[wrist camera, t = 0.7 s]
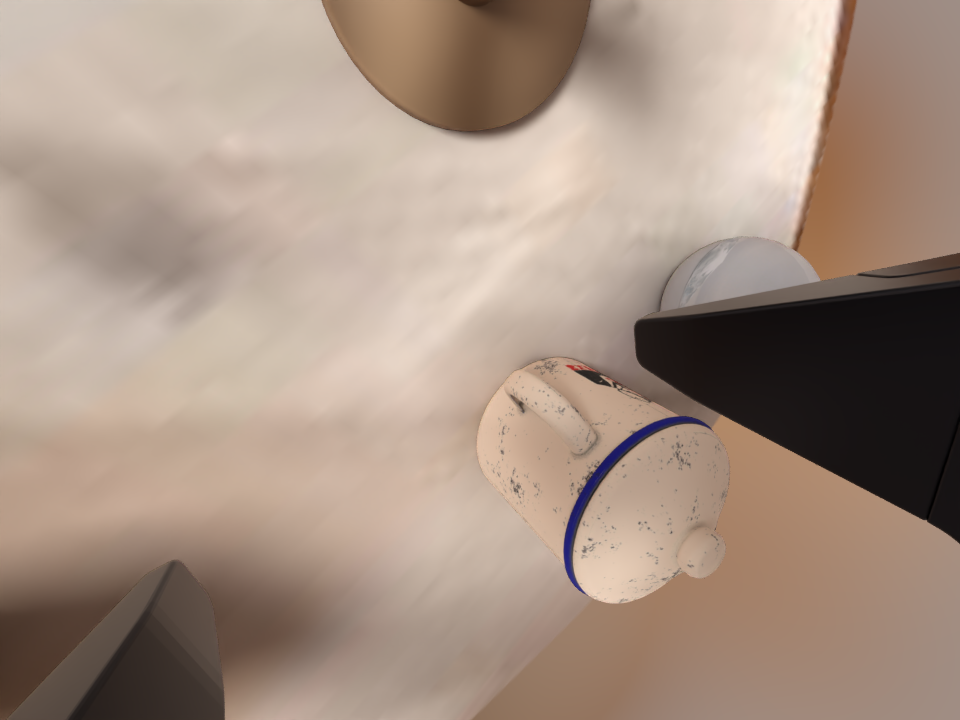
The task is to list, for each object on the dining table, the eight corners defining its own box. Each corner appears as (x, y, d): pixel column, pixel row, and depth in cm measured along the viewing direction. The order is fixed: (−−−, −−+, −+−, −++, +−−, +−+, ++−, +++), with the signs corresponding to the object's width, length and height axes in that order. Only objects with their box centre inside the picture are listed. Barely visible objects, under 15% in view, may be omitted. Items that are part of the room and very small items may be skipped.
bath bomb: (613, 283, 27) (744, 322, 20) (709, 200, 28) (861, 213, 22) (650, 378, 31) (768, 436, 25) (732, 303, 33) (863, 339, 26)
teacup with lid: (620, 411, 31) (804, 522, 21) (523, 516, 30) (671, 681, 20) (531, 279, 24) (743, 356, 15) (402, 409, 23) (539, 582, 14)
